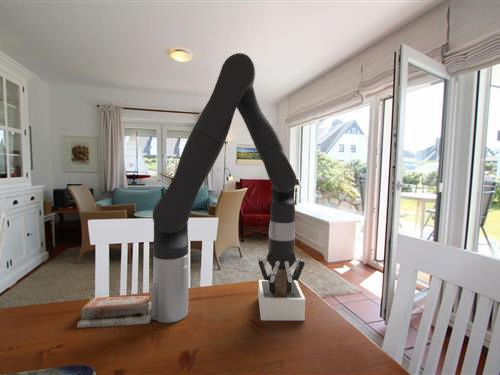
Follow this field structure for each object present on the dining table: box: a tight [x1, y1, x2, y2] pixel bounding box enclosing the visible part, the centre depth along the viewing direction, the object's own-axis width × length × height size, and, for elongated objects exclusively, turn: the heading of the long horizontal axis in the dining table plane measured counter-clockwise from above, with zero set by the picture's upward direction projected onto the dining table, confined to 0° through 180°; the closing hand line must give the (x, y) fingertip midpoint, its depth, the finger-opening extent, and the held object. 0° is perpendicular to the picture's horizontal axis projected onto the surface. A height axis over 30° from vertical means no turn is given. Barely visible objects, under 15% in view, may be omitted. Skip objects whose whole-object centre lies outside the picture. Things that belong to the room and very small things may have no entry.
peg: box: [273, 269, 287, 298], centre depth 77 cm, size 4×4×11 cm
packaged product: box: [76, 295, 152, 329], centre depth 72 cm, size 18×5×10 cm
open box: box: [257, 279, 306, 321], centre depth 77 cm, size 12×12×6 cm
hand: (280, 292), depth 77 cm, fingers closed on peg, 3 cm apart
